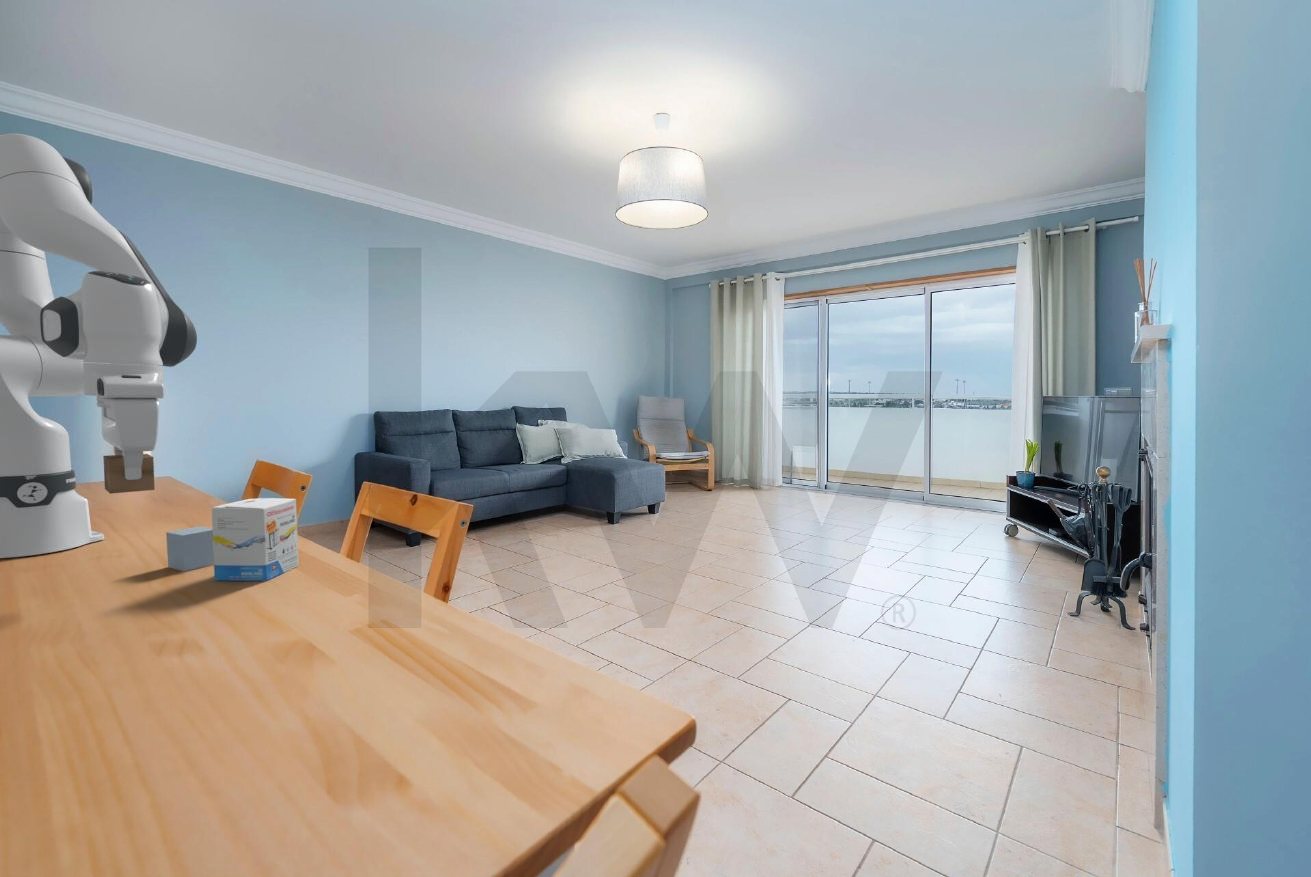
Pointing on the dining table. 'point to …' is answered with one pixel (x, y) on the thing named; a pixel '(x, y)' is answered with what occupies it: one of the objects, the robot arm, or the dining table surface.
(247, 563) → the ink box
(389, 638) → the dining table surface
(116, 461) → the walnut block
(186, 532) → the slate block
